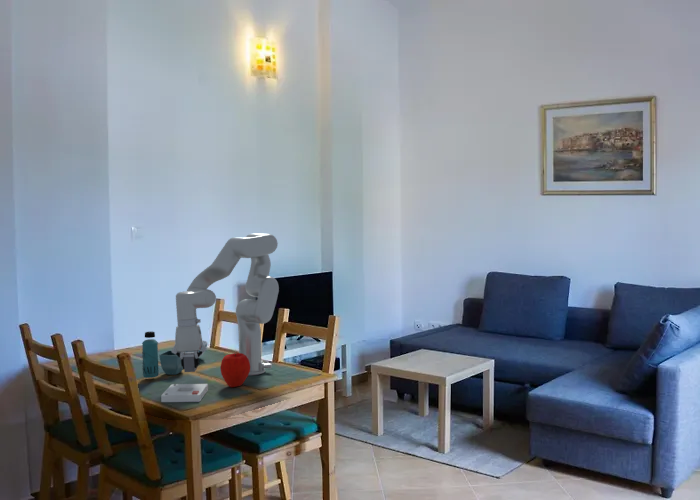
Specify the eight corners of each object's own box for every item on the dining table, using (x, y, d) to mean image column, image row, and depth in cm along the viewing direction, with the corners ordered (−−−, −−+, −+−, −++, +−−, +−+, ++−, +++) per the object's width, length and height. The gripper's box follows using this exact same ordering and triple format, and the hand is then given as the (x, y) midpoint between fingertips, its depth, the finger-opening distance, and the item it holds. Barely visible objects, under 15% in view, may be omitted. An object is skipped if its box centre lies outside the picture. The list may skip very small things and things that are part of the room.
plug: (197, 368, 278) (195, 351, 277) (194, 371, 273) (193, 354, 273) (186, 369, 278) (185, 352, 277) (184, 372, 273) (183, 355, 273)
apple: (245, 390, 267) (244, 356, 267) (216, 389, 269) (215, 355, 269) (254, 383, 279) (253, 350, 278) (226, 382, 281) (225, 349, 280)
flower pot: (178, 376, 292) (178, 355, 291) (159, 375, 293) (158, 354, 293) (187, 371, 300) (187, 351, 300) (168, 370, 302) (168, 350, 301)
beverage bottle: (152, 376, 291) (151, 329, 290) (162, 379, 287) (161, 331, 286) (139, 379, 286) (138, 332, 285) (148, 382, 282) (147, 333, 281)
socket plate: (207, 390, 269) (207, 382, 269) (199, 401, 253) (199, 393, 253) (171, 390, 269) (171, 382, 269) (161, 402, 253) (161, 394, 253)
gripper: (210, 319, 277) (213, 364, 279) (168, 321, 277) (171, 366, 279) (206, 323, 270) (209, 369, 272) (163, 325, 270) (167, 371, 272)
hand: (190, 367), depth 275 cm, fingers closed on plug, 4 cm apart
